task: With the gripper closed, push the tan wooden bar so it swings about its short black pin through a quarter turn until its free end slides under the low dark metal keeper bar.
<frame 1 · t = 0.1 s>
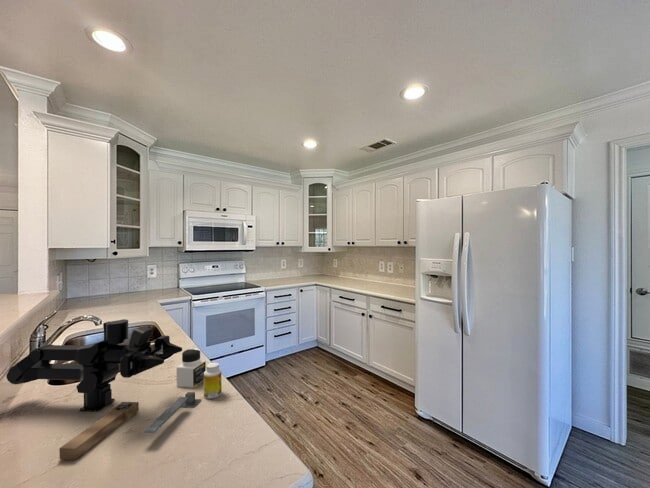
hand: (173, 355, 87), 17 cm above the counter, tool horizontal, fingers open, 9 cm apart
tan wooden bar: (103, 426, 76), point 2 cm above the counter, hinge at 0.0°
medicine bottle: (191, 383, 103), on the counter
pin: (123, 416, 83), on the counter
keeper: (178, 416, 83), on the counter
supplement bottle: (212, 395, 95), on the counter
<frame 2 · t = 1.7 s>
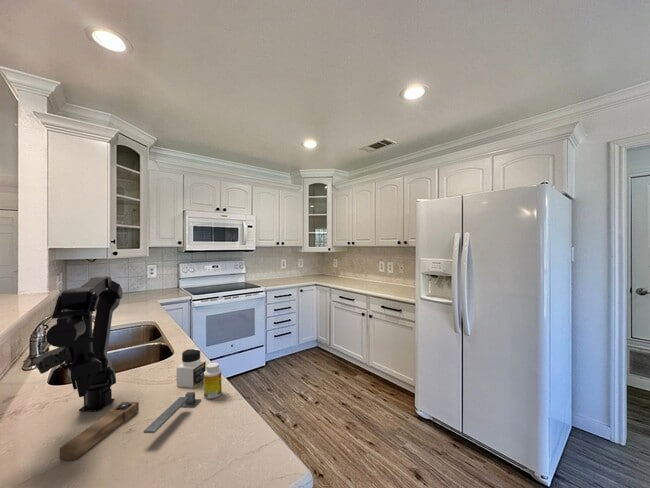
hand: (79, 392, 76), 11 cm above the counter, tool pointing down, fingers open, 6 cm apart
nothing on the counter moved.
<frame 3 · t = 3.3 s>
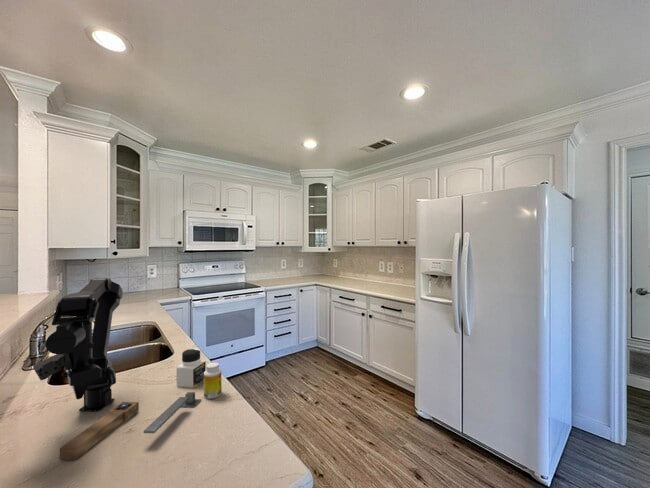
hand: (79, 398, 76), 9 cm above the counter, tool pointing down, fingers closed
nothing on the counter moved.
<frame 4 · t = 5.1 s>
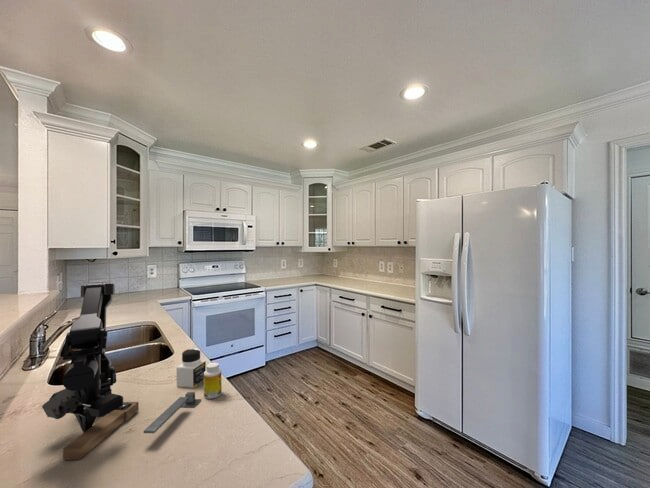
hand: (86, 432, 74), 2 cm above the counter, tool pointing down, fingers closed
tan wooden bar: (104, 427, 76), point 2 cm above the counter, hinge at 3.4°, touching gripper
everything else where it was.
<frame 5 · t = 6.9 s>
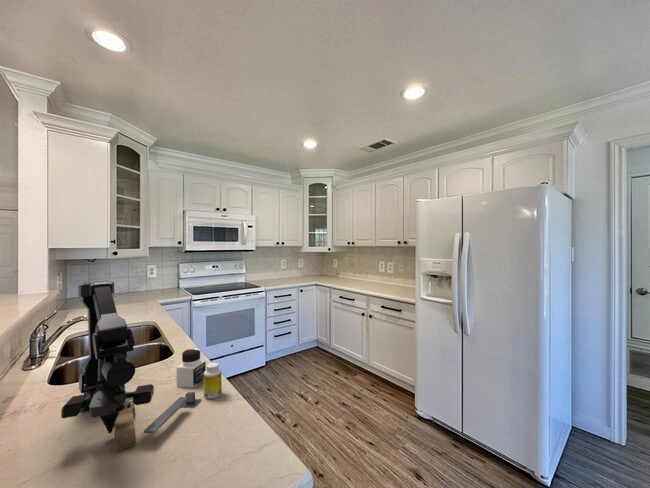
hand: (110, 432, 74), 2 cm above the counter, tool pointing down, fingers closed
tan wooden bar: (124, 423, 77), point 2 cm above the counter, hinge at 41.0°, touching gripper
everything else where it was.
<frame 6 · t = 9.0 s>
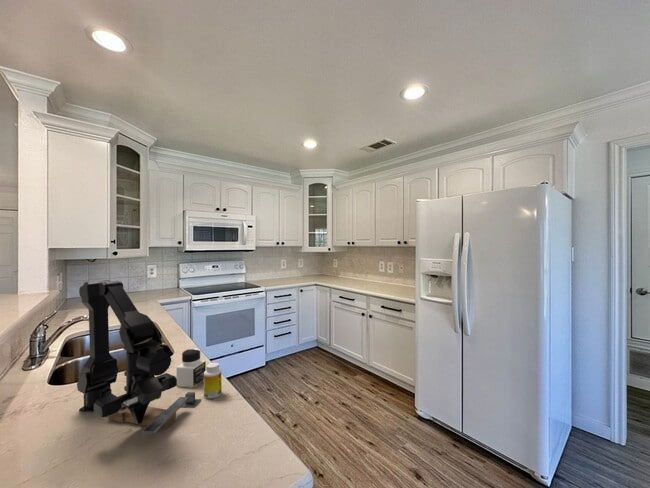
hand: (138, 423, 77), 1 cm above the counter, tool pointing down, fingers closed
tan wooden bar: (143, 414, 81), point 2 cm above the counter, hinge at 78.4°
everything else where it was.
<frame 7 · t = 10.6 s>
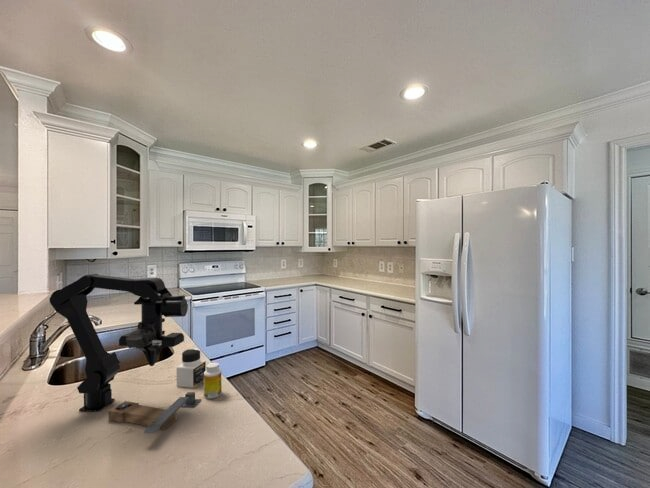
hand: (152, 365, 90), 12 cm above the counter, tool pointing down, fingers closed
nothing on the counter moved.
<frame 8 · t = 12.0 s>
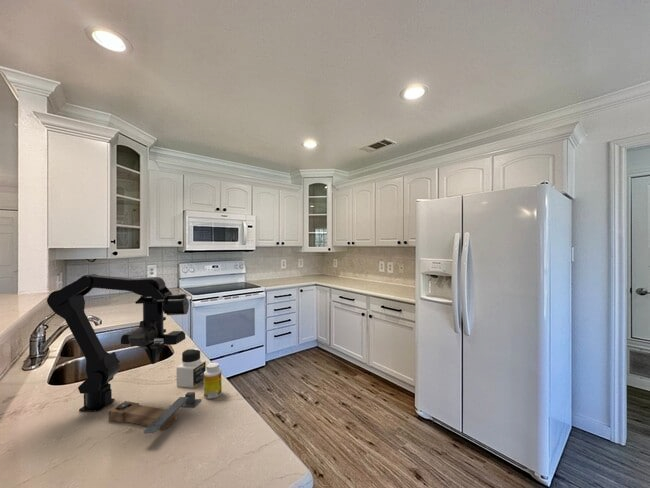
hand: (153, 363, 92), 12 cm above the counter, tool pointing down, fingers closed
nothing on the counter moved.
at the end: tan wooden bar at +78° (first picture: +0°); tan wooden bar touching nothing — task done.
